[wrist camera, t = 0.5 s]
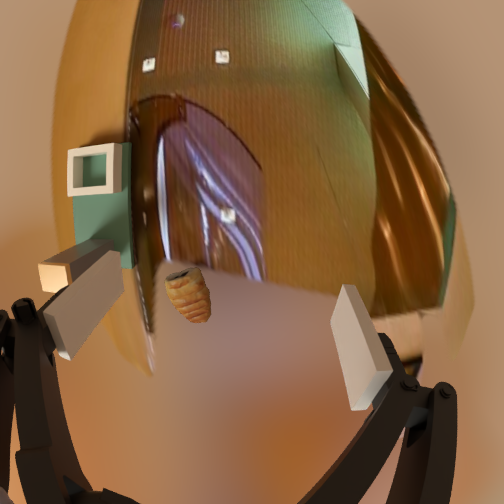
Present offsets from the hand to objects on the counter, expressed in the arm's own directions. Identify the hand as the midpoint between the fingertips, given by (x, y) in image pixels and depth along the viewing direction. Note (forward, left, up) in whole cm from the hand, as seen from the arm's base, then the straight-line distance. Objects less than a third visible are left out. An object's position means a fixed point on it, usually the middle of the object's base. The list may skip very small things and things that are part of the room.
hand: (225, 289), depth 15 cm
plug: (+5, -22, -25) cm, 34 cm away
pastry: (+12, -7, -27) cm, 30 cm away
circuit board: (-2, -22, -26) cm, 35 cm away
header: (-8, -22, -25) cm, 35 cm away
